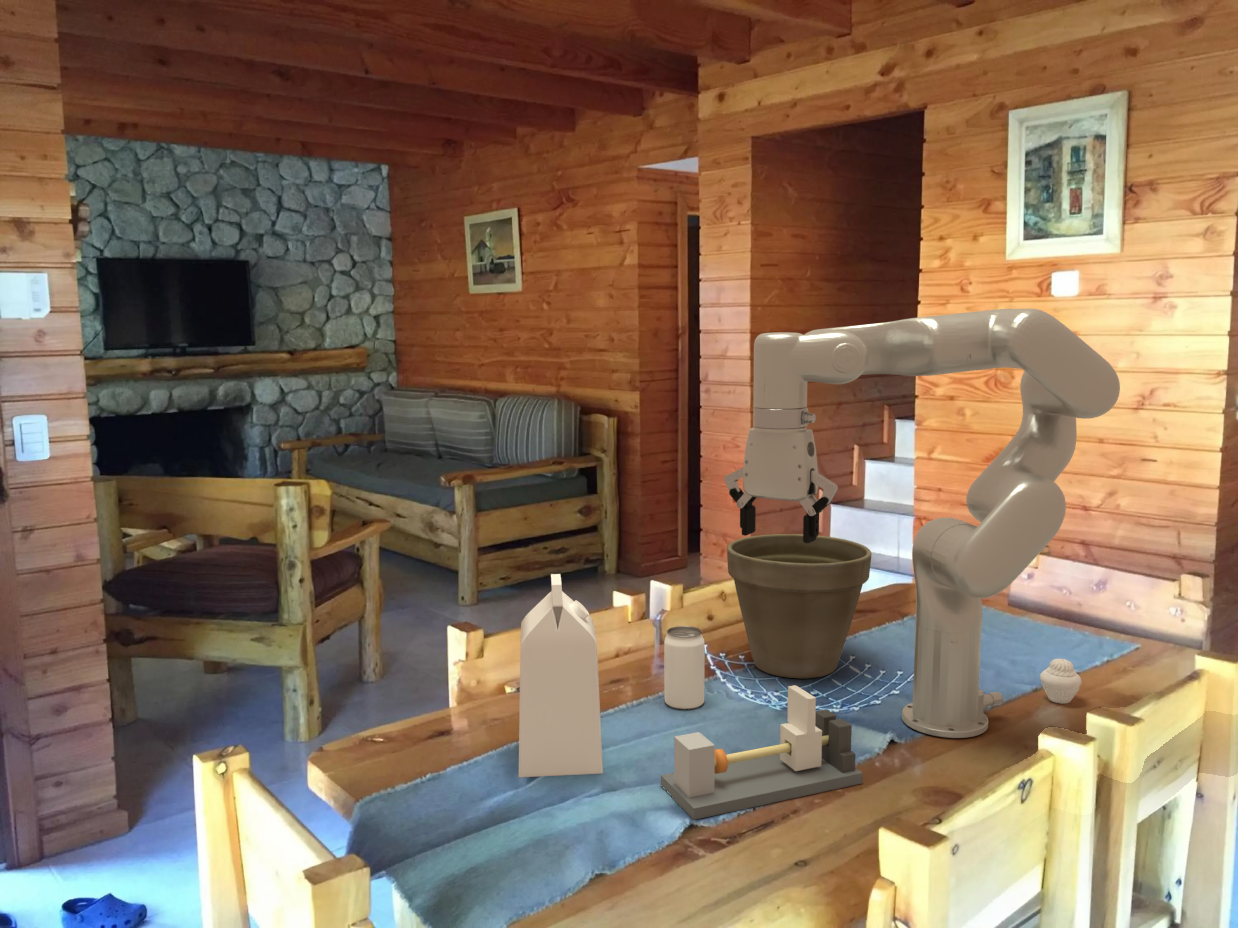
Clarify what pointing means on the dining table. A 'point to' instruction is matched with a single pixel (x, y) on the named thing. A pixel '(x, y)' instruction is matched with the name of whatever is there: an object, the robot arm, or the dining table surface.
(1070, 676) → the muffin
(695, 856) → the dining table surface
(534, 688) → the milk
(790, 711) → the sleeve
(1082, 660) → the dining table surface
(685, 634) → the can
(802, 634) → the plant pot
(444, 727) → the dining table surface
